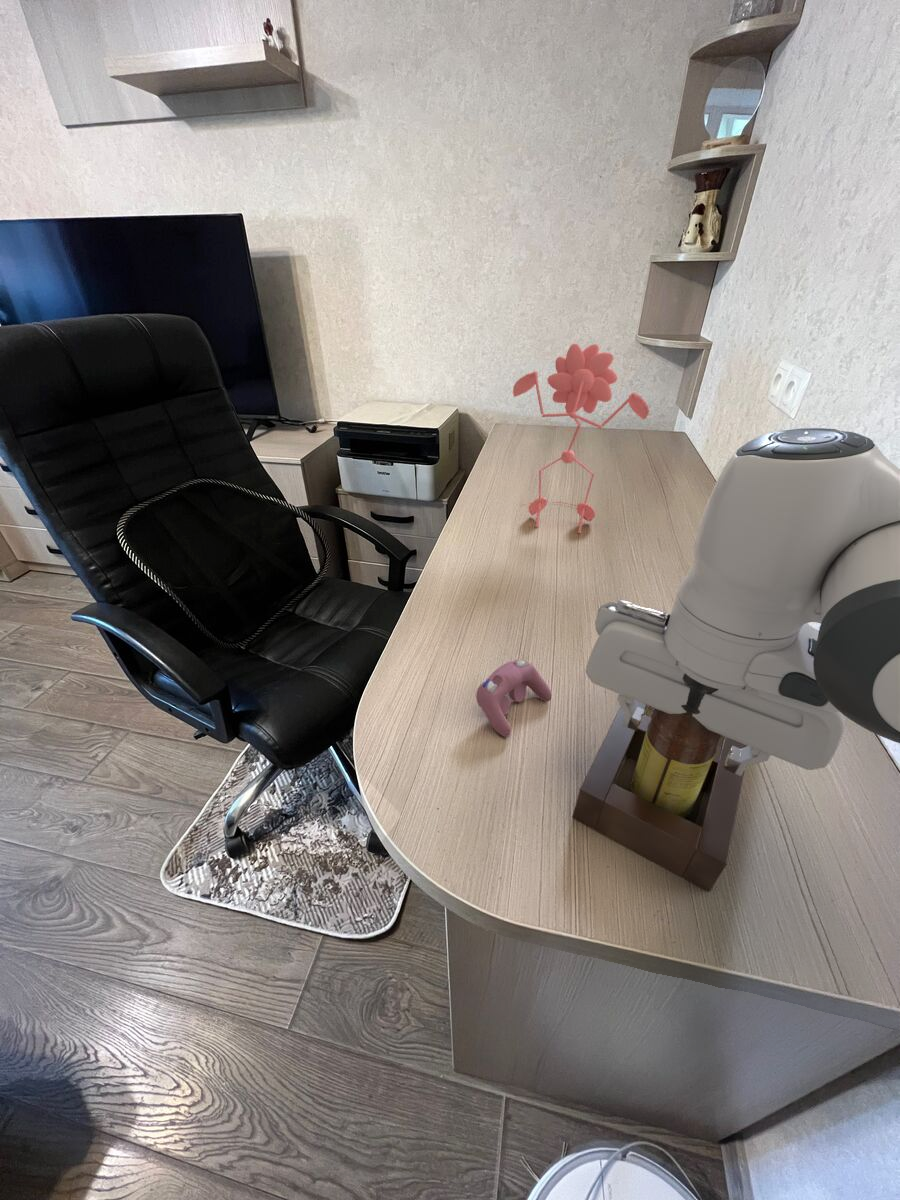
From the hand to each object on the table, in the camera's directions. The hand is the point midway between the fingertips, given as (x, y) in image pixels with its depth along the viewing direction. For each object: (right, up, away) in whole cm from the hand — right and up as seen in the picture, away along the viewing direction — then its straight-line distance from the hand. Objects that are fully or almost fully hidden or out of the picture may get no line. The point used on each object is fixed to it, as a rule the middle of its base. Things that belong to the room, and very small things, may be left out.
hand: (679, 745), depth 49 cm
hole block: (+3, -5, +9) cm, 11 cm away
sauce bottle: (0, -8, +5) cm, 10 cm away
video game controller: (-14, 0, +16) cm, 22 cm away
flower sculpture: (+3, +32, +63) cm, 71 cm away
